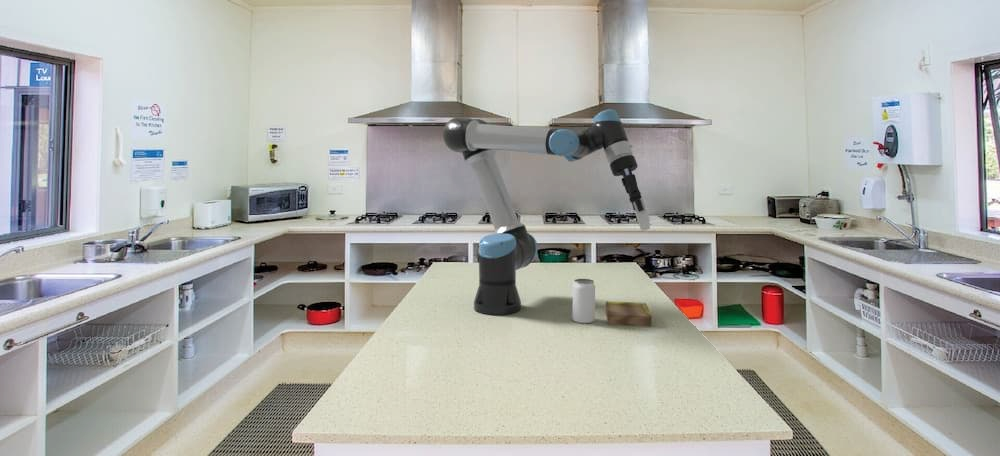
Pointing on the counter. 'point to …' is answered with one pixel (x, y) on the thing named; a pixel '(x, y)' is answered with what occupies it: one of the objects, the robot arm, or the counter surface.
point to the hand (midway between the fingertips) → (645, 226)
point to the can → (583, 301)
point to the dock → (628, 314)
